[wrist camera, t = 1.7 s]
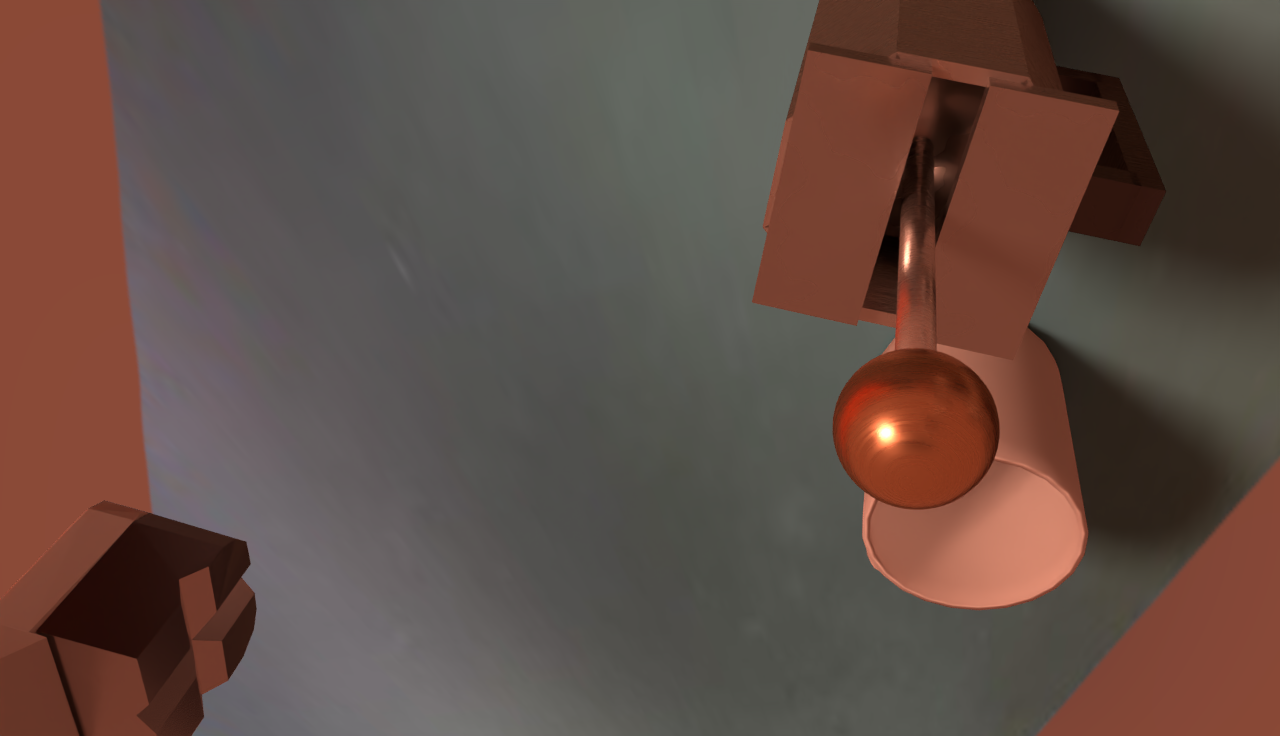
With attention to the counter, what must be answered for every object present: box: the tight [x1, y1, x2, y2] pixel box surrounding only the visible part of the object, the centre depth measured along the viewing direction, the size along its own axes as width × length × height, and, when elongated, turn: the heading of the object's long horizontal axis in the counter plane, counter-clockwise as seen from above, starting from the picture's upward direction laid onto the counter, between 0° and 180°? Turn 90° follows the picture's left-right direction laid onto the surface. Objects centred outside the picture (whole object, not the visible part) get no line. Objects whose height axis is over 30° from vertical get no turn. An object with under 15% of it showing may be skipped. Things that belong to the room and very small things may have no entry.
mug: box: [862, 328, 1088, 610], centre depth 51 cm, size 10×12×12 cm
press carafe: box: [752, 0, 1166, 360], centre depth 38 cm, size 9×12×17 cm
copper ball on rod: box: [833, 77, 1000, 510], centre depth 28 cm, size 7×7×18 cm
